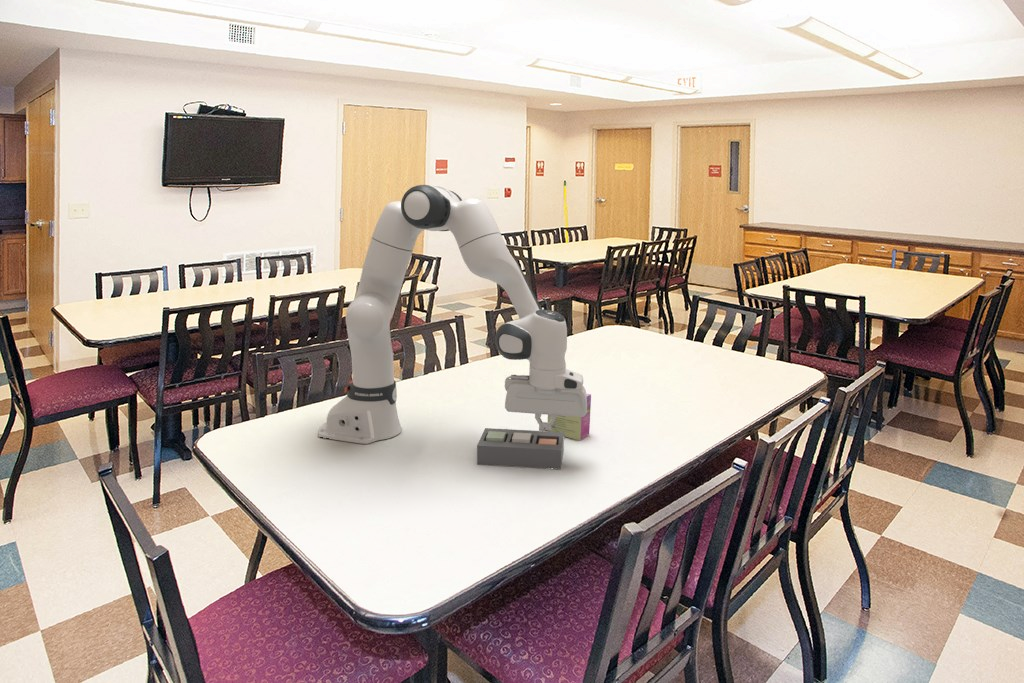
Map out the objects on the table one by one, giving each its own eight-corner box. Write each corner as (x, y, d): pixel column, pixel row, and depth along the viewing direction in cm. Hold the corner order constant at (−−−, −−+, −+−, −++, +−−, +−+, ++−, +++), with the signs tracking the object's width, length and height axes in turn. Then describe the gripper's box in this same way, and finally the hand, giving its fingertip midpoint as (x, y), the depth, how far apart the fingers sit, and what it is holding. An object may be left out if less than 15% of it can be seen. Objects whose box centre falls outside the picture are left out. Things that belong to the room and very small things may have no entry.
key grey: (511, 445, 171) (511, 438, 171) (514, 439, 176) (514, 432, 175) (529, 446, 171) (529, 439, 170) (531, 440, 175) (531, 433, 175)
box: (590, 434, 190) (591, 393, 187) (580, 441, 185) (581, 399, 182) (556, 427, 195) (557, 387, 193) (546, 433, 191) (547, 392, 188)
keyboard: (477, 464, 170) (477, 445, 169) (485, 446, 181) (485, 428, 180) (560, 469, 167) (561, 450, 166) (563, 450, 179) (564, 432, 178)
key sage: (486, 444, 172) (486, 437, 172) (488, 437, 176) (488, 431, 176) (503, 445, 172) (503, 438, 171) (505, 438, 176) (505, 432, 176)
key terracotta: (537, 451, 171) (537, 445, 171) (539, 445, 175) (539, 438, 175) (555, 452, 170) (555, 445, 170) (556, 446, 175) (556, 439, 174)
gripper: (503, 377, 166) (501, 431, 170) (588, 383, 164) (585, 438, 167) (506, 370, 172) (505, 422, 176) (589, 376, 170) (586, 428, 173)
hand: (544, 430), depth 171 cm, fingers closed
